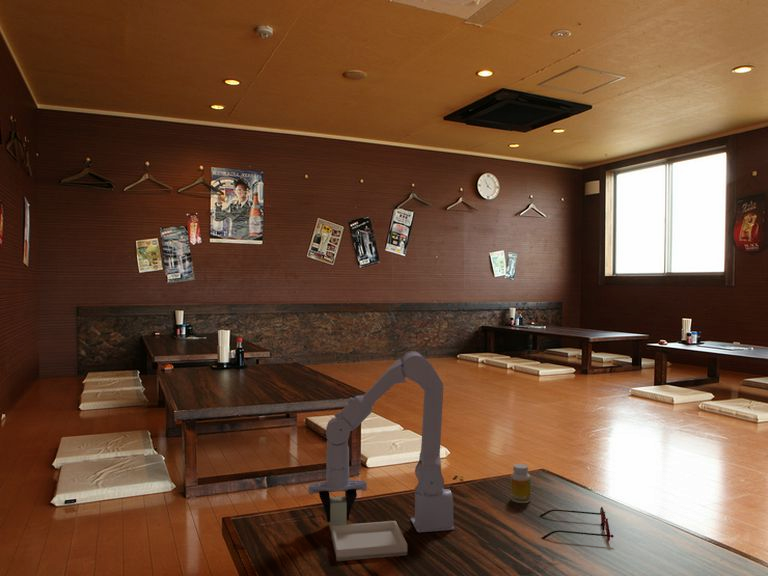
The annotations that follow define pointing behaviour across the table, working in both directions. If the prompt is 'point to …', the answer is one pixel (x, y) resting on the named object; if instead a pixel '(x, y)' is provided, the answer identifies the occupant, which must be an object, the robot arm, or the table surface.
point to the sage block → (338, 511)
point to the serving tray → (368, 540)
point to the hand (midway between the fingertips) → (337, 519)
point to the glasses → (582, 532)
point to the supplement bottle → (520, 484)
